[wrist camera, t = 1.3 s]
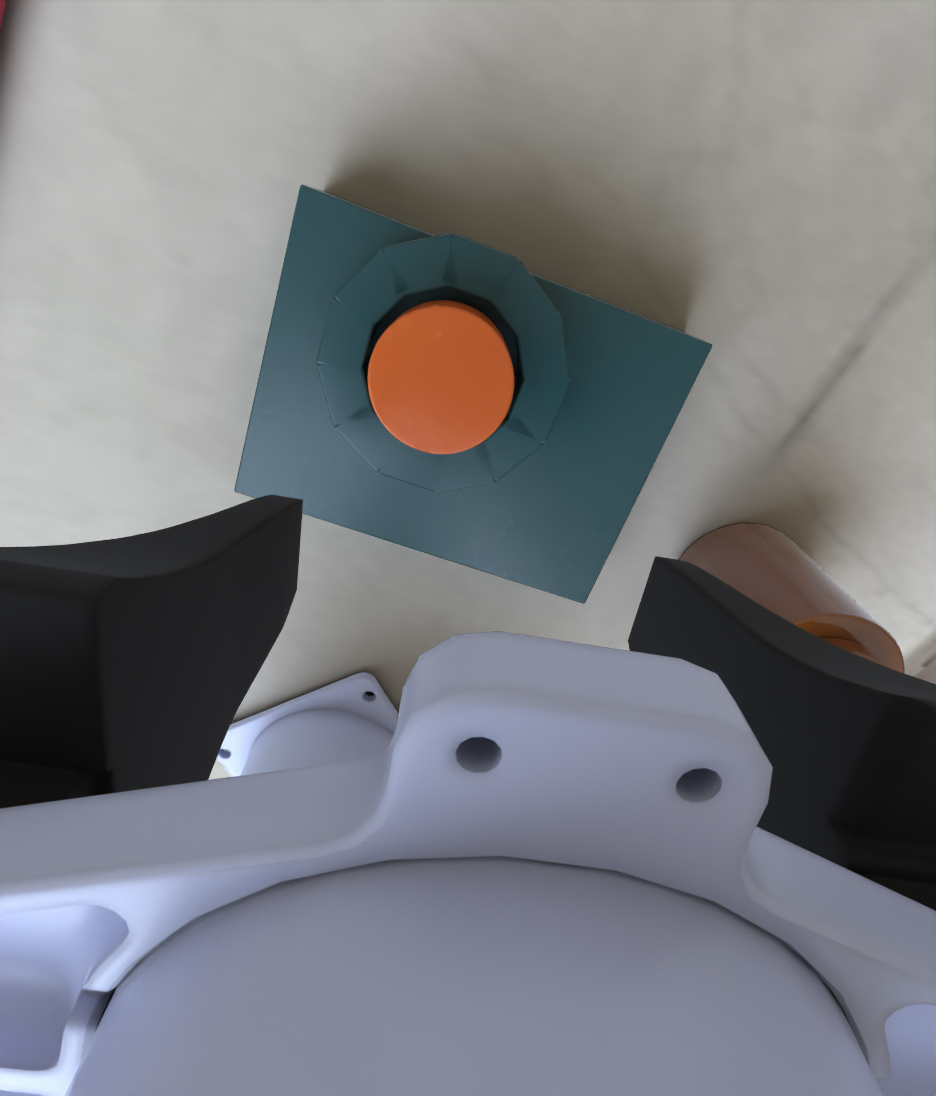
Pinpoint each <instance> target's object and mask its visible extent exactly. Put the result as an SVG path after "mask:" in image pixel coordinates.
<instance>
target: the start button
mask: <svg viewBox="0 0 936 1096" xmlns="http://www.w3.org/2000/svg"><path fill="white" fill-rule="evenodd" d="M367 378H368V390H369V396H370V399H371V402H372V406H373V408H374V410H375V412H376V414H377V416H378V418H379V419H380V421H381V422H382V424H383V425H384V426H385V427H386V429H387V430H388V431H389V432H390V433H391V434H392V435H393V436H394V437H396V438H397V439H398V440H400V441H401V442H402V443H404V444H406V445H408V446H409V447H412V448H414V449H416V450H419V451H423V452H426V453H432V454H453V453H458V452H462V451H465V450H468V449H471V448H473V447H475V446H477V445H478V444H480V443H482V442H483V441H485V440H486V439H487V438H489V437H490V436H491V435H492V434H493V433H494V432H495V431H496V430H497V428H498V427H499V426H500V425H501V423H502V421H503V420H504V418H505V417H506V415H507V412H508V410H509V408H510V405H511V402H512V398H513V392H514V370H513V365H512V361H511V357H510V354H509V351H508V348H507V345H506V342H505V340H504V338H503V336H502V334H501V333H500V331H499V330H498V328H497V327H496V326H495V324H494V323H493V322H492V321H491V320H490V319H489V318H488V317H487V316H485V315H484V314H483V313H482V312H480V311H478V310H477V309H475V308H473V307H471V306H469V305H467V304H464V303H461V302H457V301H451V300H434V301H428V302H425V303H421V304H419V305H416V306H414V307H412V308H410V309H409V310H407V311H405V312H404V313H403V314H401V315H400V316H399V317H398V318H397V319H396V320H395V321H394V322H393V323H392V324H391V325H390V326H389V327H388V328H387V329H386V330H385V331H384V333H383V334H382V335H381V337H380V338H379V340H378V341H377V343H376V345H375V347H374V349H373V352H372V355H371V358H370V362H369V367H368V377H367Z"/></svg>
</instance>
